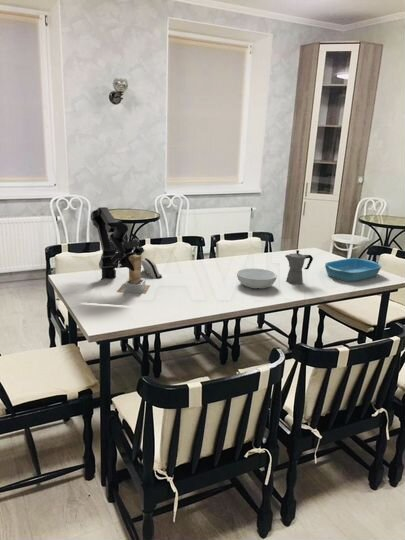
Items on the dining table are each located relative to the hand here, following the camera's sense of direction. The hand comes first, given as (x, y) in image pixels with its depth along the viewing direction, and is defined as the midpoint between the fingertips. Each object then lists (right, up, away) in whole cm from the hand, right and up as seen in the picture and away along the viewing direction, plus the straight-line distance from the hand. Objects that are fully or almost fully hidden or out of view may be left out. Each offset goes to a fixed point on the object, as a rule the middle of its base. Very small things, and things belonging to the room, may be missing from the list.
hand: (137, 269), depth 212 cm
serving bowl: (+60, -9, +23) cm, 64 cm away
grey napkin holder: (+2, -3, +34) cm, 34 cm away
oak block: (-2, -6, +3) cm, 7 cm away
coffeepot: (+83, -7, +33) cm, 90 cm away
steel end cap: (-2, -10, +4) cm, 11 cm away
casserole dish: (+120, -4, +51) cm, 131 cm away
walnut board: (-3, -10, +6) cm, 12 cm away
